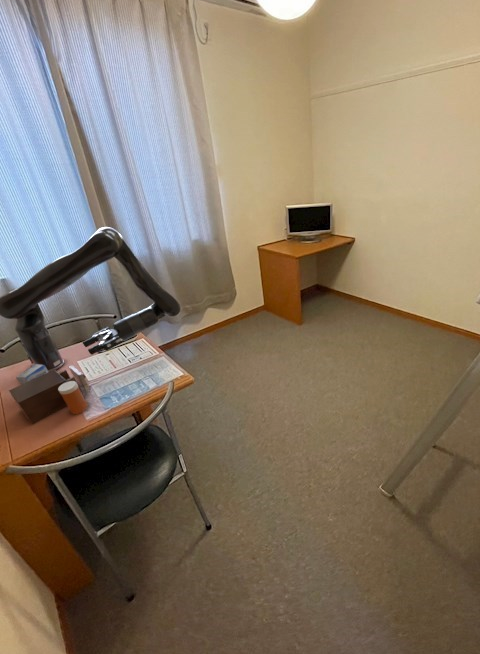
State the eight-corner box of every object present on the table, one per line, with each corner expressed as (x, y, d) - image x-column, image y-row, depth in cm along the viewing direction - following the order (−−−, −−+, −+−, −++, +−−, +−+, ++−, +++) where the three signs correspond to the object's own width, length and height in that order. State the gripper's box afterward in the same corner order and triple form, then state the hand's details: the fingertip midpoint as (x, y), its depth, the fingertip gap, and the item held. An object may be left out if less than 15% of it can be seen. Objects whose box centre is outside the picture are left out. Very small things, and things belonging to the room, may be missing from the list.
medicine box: (36, 396, 119) (25, 377, 115) (26, 395, 120) (15, 376, 116) (54, 383, 126) (44, 364, 122) (45, 382, 127) (34, 363, 122)
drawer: (83, 379, 125) (75, 363, 122) (93, 388, 120) (86, 372, 116) (42, 399, 116) (32, 383, 113) (51, 409, 111) (42, 393, 107)
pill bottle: (68, 410, 112) (55, 387, 107) (84, 401, 115) (72, 379, 110) (74, 416, 109) (61, 393, 104) (90, 407, 112) (79, 384, 107)
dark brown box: (65, 389, 122) (54, 369, 117) (76, 400, 116) (65, 379, 111) (22, 410, 113) (8, 390, 108) (32, 424, 107) (18, 402, 102)
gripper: (119, 313, 129) (76, 334, 121) (131, 323, 120) (85, 346, 112) (128, 329, 133) (87, 350, 125) (141, 340, 124) (97, 363, 116)
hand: (86, 348), depth 118 cm, fingers open, 8 cm apart
